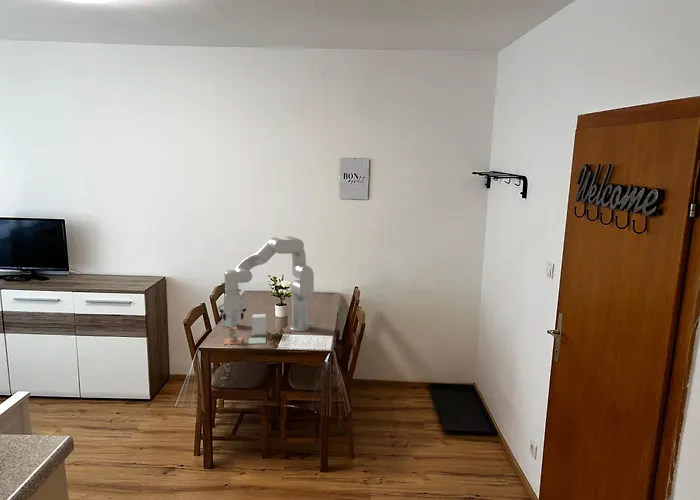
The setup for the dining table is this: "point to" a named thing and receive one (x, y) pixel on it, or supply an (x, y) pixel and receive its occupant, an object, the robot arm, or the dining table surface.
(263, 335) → the mounted unit
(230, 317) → the supplement box
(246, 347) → the dining table surface
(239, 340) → the terracotta pad
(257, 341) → the sage pad
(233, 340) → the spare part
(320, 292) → the dining table surface
